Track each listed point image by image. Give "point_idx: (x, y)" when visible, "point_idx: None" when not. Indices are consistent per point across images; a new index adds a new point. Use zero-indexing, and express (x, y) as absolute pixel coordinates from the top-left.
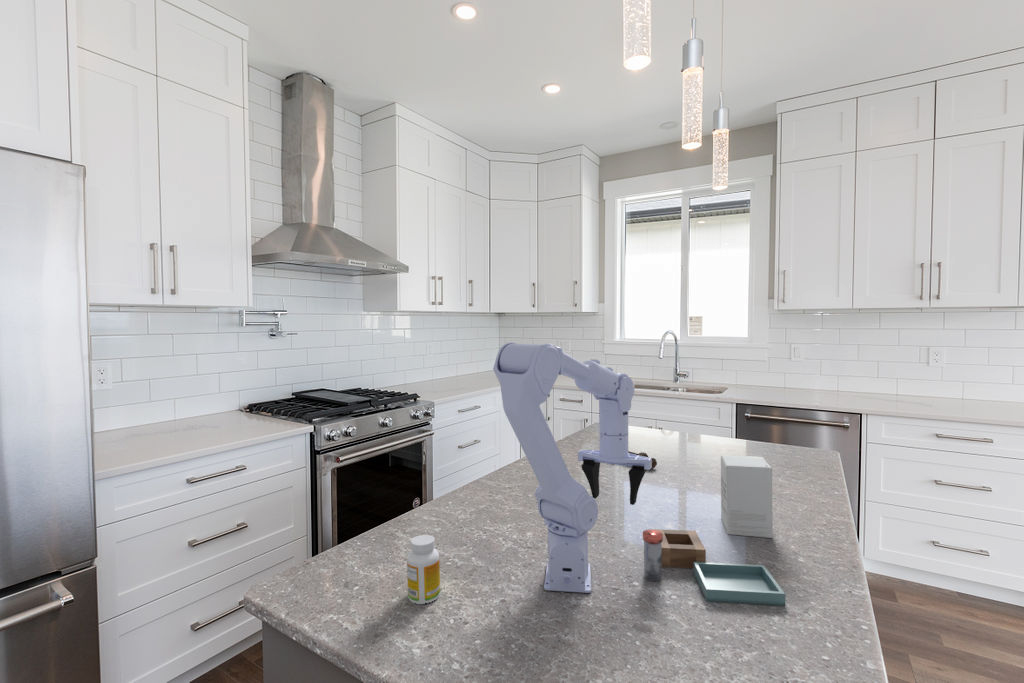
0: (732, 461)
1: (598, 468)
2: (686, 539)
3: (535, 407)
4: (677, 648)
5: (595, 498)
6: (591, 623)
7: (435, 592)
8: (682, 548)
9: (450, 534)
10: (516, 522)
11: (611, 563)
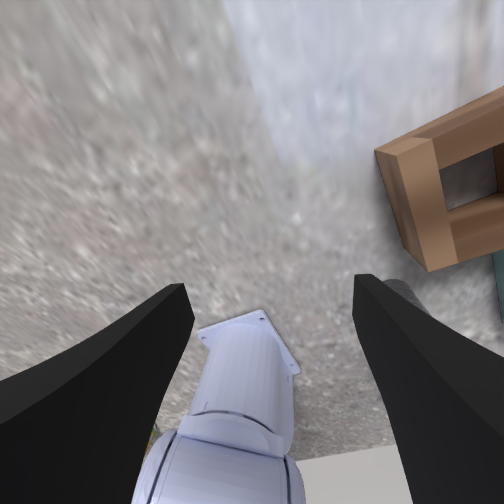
0: None
1: (79, 406)
2: None
3: None
4: None
5: (193, 318)
6: (325, 408)
7: (151, 435)
8: (500, 248)
9: (4, 318)
10: (14, 218)
11: (295, 281)
